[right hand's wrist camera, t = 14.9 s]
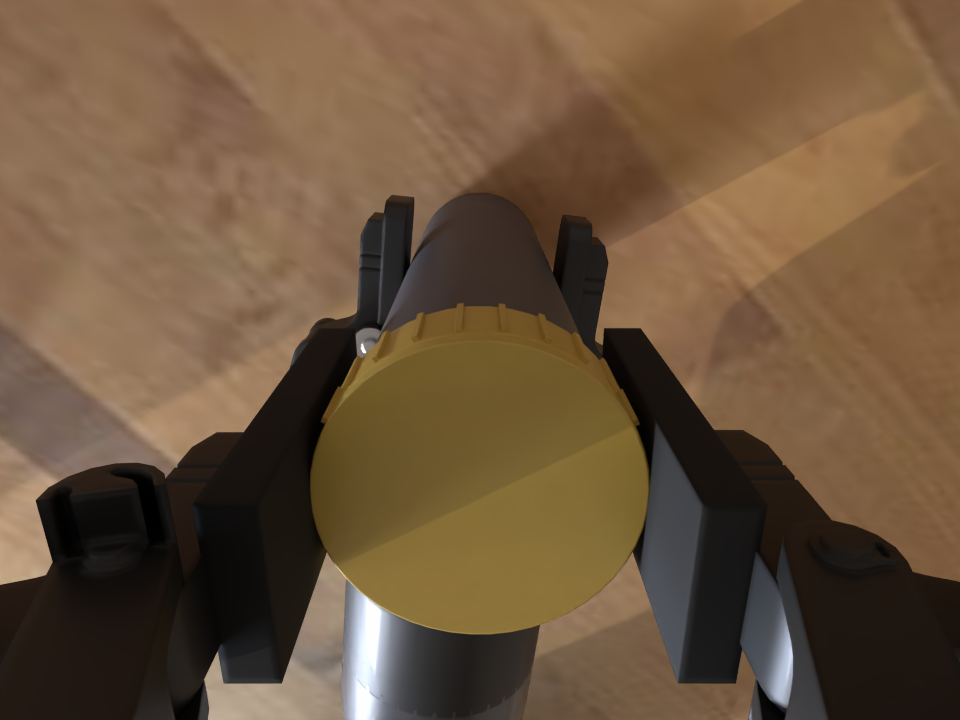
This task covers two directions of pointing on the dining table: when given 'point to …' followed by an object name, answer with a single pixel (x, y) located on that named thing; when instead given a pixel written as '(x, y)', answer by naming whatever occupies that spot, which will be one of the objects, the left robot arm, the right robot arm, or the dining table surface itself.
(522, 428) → the lid
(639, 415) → the right robot arm
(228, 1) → the dining table surface
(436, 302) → the bottle
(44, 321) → the dining table surface
